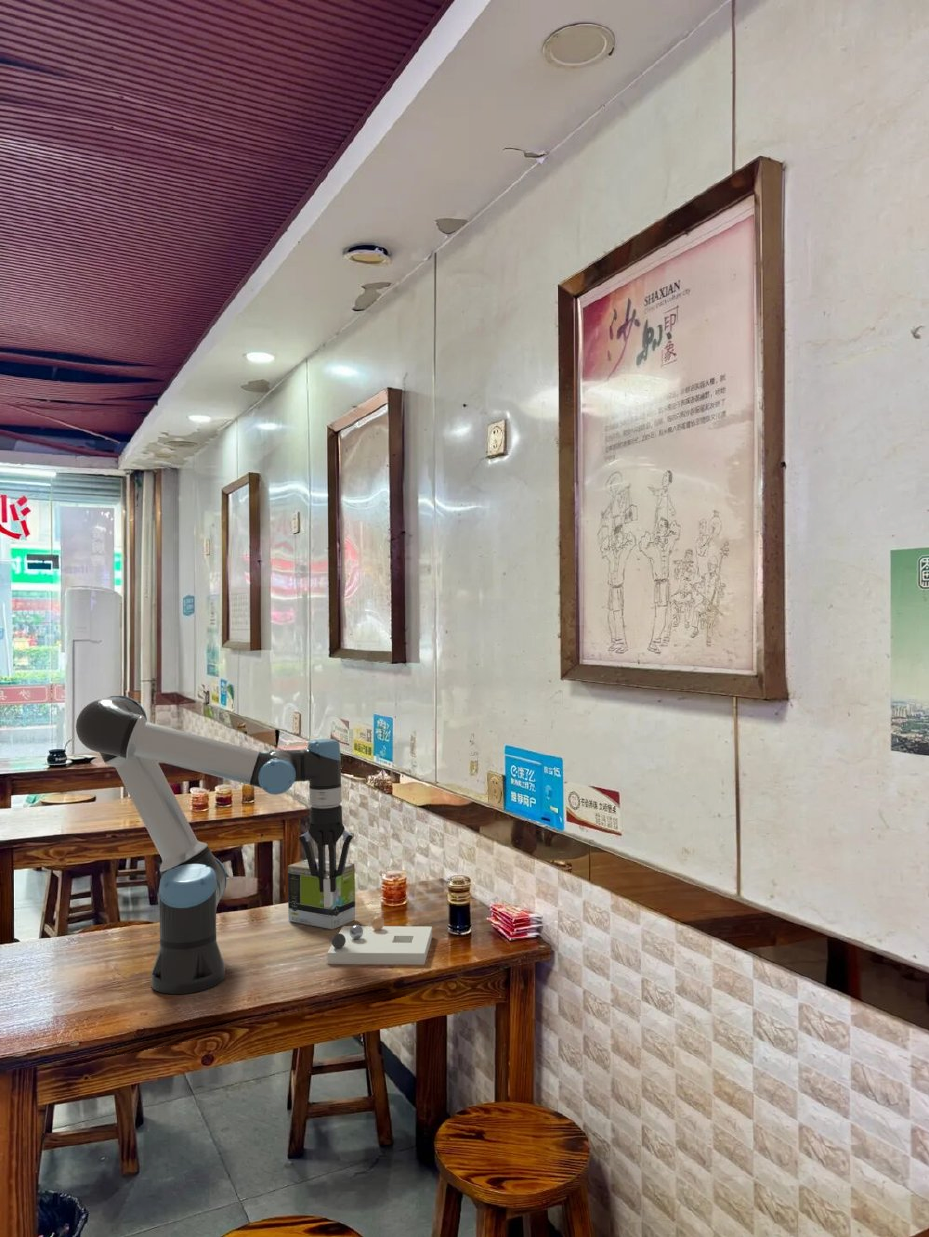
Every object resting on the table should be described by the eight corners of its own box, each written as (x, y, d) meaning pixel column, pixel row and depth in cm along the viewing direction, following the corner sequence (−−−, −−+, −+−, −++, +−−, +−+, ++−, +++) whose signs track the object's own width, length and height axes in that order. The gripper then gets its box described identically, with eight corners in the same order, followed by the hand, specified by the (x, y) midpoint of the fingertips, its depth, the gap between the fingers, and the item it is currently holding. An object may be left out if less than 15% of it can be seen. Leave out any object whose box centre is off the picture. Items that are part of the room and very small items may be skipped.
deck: (327, 963, 194) (327, 952, 194) (343, 936, 212) (343, 926, 212) (424, 964, 193) (424, 953, 193) (432, 936, 211) (432, 926, 211)
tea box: (356, 919, 225) (356, 862, 225) (331, 931, 216) (331, 871, 216) (312, 911, 232) (311, 855, 233) (286, 921, 224) (286, 864, 224)
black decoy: (330, 950, 195) (330, 936, 195) (333, 945, 198) (333, 931, 199) (344, 950, 195) (344, 936, 195) (346, 945, 198) (346, 931, 198)
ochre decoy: (370, 931, 207) (369, 918, 207) (372, 927, 211) (372, 914, 211) (383, 931, 207) (383, 918, 207) (385, 927, 210) (385, 914, 210)
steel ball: (348, 941, 201) (348, 927, 201) (351, 936, 204) (350, 922, 204) (362, 941, 201) (361, 927, 201) (364, 936, 204) (364, 922, 204)
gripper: (294, 808, 200) (297, 910, 200) (350, 807, 200) (352, 910, 199) (302, 802, 208) (305, 901, 207) (355, 801, 207) (358, 900, 207)
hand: (328, 905), depth 203 cm, fingers closed
